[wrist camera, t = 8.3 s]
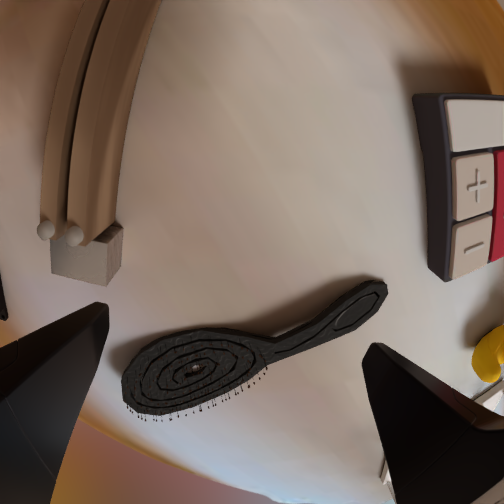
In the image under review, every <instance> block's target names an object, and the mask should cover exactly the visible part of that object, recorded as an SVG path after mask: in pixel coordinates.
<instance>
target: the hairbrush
mask: <svg viewBox="0 0 504 504" xmlns="http://www.w3.org/2000/svg"><path fill="white" fill-rule="evenodd" d="M372 281H374V280H372ZM372 281H365V282H363V283H362V284H360V285H359V286H357V287H355V288H354V289H352V290H351V291H349V292H348V293H346V294H344V295H343V296H341V297H340V298H339V299H338V300H337V301H335V302H334V303H333V304H332V305H330V306H329V307H328V308H327V309H325V310H324V311H323V312H322V313H320V314H319V315H318V316H317V317H315V318H314V319H313V320H311V321H309V322H306V323H304V324H302V325H300V326H298V327H296V328H294V329H292V330H290V331H288V332H286V333H284V334H282V335H279V336H277V337H270V336H264V335H258V334H252V333H247V332H243V331H238V330H234V329H229V330H223V329H228V328H223V329H216V328H201V329H194V330H186V331H181V332H177V333H173V334H170V335H168V336H165V337H161V338H159V339H157V340H155V341H153V342H151V343H150V344H148V345H147V346H145V347H143V348H142V349H141V350H140V351H139V353H138V354H137V355H136V356H135V357H134V358H133V359H132V361H131V362H130V364H129V366H128V367H127V368H126V369H125V371H124V373H123V376H122V380H121V384H122V395H123V401H124V402H125V403H126V404H127V409H128V405H129V406H130V407H131V408H132V409H134V410H135V411H136V412H137V413H142V414H150V415H153V417H154V415H158V416H161V415H165V414H169V413H170V414H171V413H173V412H178V411H181V410H184V409H188V408H192V407H194V406H197V405H199V404H202V403H204V402H206V401H209V400H211V399H214V398H216V397H218V396H220V395H223V394H225V393H227V392H229V391H231V390H233V389H234V388H236V387H238V386H239V385H241V384H243V383H245V382H246V381H248V380H250V379H251V378H253V376H255V375H256V374H257V373H258V372H259V371H261V370H262V369H263V368H264V367H266V366H267V365H269V364H272V363H274V362H277V361H279V360H282V359H284V358H287V357H290V356H292V355H295V354H298V353H300V352H303V351H306V350H308V349H311V348H313V347H316V346H318V345H321V344H323V343H326V342H328V341H330V340H333V339H335V338H338V337H340V336H343V335H345V334H347V333H350V332H352V331H354V330H356V329H357V328H358V327H360V326H361V325H362V324H363V323H365V322H366V321H367V320H368V319H369V318H371V317H372V316H373V315H374V314H375V313H376V312H378V310H379V308H380V307H381V305H382V303H383V302H384V300H385V298H386V296H387V295H388V289H387V284H385V283H384V282H382V281H379V282H373V283H370V282H372ZM374 291H376V295H375V294H374V293H373V292H374ZM230 330H233V331H230ZM253 351H254V356H253ZM234 354H235V355H237V356H238V359H237V360H236V357H235V355H234ZM253 359H254V360H253ZM151 360H152V361H151ZM150 362H151V363H150ZM215 362H217V366H216V367H215ZM149 363H150V364H149ZM234 363H235V364H234ZM195 365H199V366H200V365H202V366H203V365H204V367H203V368H202V369H200V370H199V371H197V372H195V373H194V372H193V371H192V373H187V374H185V373H186V372H187V371H189V370H190V369H191V368H192V367H193V366H195ZM232 366H233V367H232ZM214 367H215V368H214ZM200 368H201V367H200ZM231 368H232V369H231ZM161 369H162V370H161ZM176 369H177V370H176ZM197 369H198V367H197ZM230 369H231V370H230ZM174 370H176V371H175V373H174ZM266 370H267V367H266ZM160 371H161V372H160ZM144 372H145V374H144ZM159 373H160V375H159ZM173 373H174V374H173ZM143 374H144V377H143V379H142V384H141V378H142V376H143ZM263 374H264V375H265V373H263ZM158 376H159V379H158ZM259 380H260V377H259ZM253 383H254V385H255V382H253ZM247 384H248V383H247ZM248 388H250V385H249V386H248ZM241 389H242V387H241ZM234 390H235V389H234ZM242 392H243V390H242ZM237 394H239V392H237ZM237 394H236V392H235V395H237ZM228 395H229V394H228ZM221 397H222V396H221ZM229 399H230V397H229ZM214 400H215V399H214ZM225 400H227V399H225ZM222 402H223V400H222ZM207 403H208V402H207ZM212 403H213V401H212ZM215 406H216V403H215ZM213 407H214V405H213ZM200 408H201V405H200V407H199V409H200ZM208 408H209V406H208ZM130 412H131V409H130ZM200 412H202V409H201V410H200ZM132 414H133V411H132ZM142 414H141V417H142ZM170 414H169V415H170ZM193 414H194V411H193ZM186 416H187V414H186ZM161 417H162V416H161ZM138 418H139V416H138ZM178 418H179V415H178ZM141 419H142V418H141ZM153 420H154V419H153ZM171 420H172V419H170V421H171ZM145 421H146V418H145ZM161 421H162V420H161ZM156 422H157V419H156Z"/></svg>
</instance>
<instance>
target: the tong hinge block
mask: <svg viewBox="0 0 504 504" xmlns="http://www.w3.org/2000/svg"><path fill="white" fill-rule="evenodd" d="M122 240H123V228H119V227H114V226H109V227H107V228H106V229H105V230H104V231H103V232H101V233H100V234H99V235H98V236H97V237H96V238H94V239H93V240H92V241H91V242H90V243H89V244H88V245H86V246H85V247H84V246H79V245H77V246H74V247H72V246H70V245H68V244H67V242H66V241H65V235H63V236H62V237H60V238H59V239H58V240H56V241H55V240H51V239H50V253H51V271H52V273H53V274H56V275H60V276H64V277H68V278H72V279H76V280H80V281H84V282H88V283H92V284H97V285H101V286H105V287H107V285H108V284H109V282H110V281H111V279H112V278H113V277H114V275H115V274H116V273H117V271H118V270H119V268H120V267H121V255H122Z"/></svg>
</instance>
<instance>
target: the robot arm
mask: <svg viewBox="0 0 504 504" xmlns="http://www.w3.org/2000/svg"><path fill="white" fill-rule="evenodd" d="M0 319H1V320H4V321H6V320H7V319H8V312H7V308H6V303H5V298H4V293H3V287H2V281H1V275H0ZM108 332H109V307H108V305H107V304H105V303H101V302H94V303H92V304H90V305H88V306H86V307H84V308H81V309H79V310H77V311H75V312H73V313H71V314H69V315H67V316H65V317H63V318H61V319H59V320H56V321H54V322H52V323H50V324H48V325H46V326H44V327H42V328H40V329H38V330H36V331H34V332H32V333H30V334H28V335H26V336H24V337H22V338H20V339H18V341H17V340H15V341H13V342H11V343H9V344H7V345H5V346H3V347H1V348H0V504H50V501H51V498H52V494H53V490H54V487H55V484H56V479H57V476H58V473H59V470H60V467H61V464H62V460H63V457H64V454H65V451H66V448H67V445H68V443H69V440H70V437H71V434H72V431H73V429H74V426H75V423H76V420H77V418H78V415H79V413H80V410H81V408H82V405H83V403H84V400H85V398H86V395H87V393H88V390H89V388H90V385H91V383H92V381H93V378H94V376H95V373H96V371H97V368H98V365H99V361H100V358H101V355H102V351H103V348H104V345H105V342H106V339H107V335H108ZM362 369H363V374H364V378H365V383H366V388H367V393H368V398H369V402H370V405H371V409H372V412H373V415H374V419H375V422H376V426H377V429H378V433H379V436H380V440H381V443H382V447H383V451H384V454H385V458H386V462H387V466H388V470H389V474H390V478H391V482H392V486H393V490H394V494H395V499H396V504H504V416H501V415H498V414H497V413H495V412H493V411H491V410H489V409H487V408H485V407H484V406H482V405H480V404H478V403H476V402H475V401H473V400H471V399H469V398H468V397H466V396H465V395H463V394H461V393H460V392H458V391H457V390H455V389H453V388H451V387H450V386H449V385H447V384H446V383H444V382H442V381H441V380H439V379H438V378H436V377H435V376H433V375H432V374H430V373H428V372H427V371H425V370H424V369H422V368H421V367H419V366H418V365H416V364H414V363H413V362H411V361H410V360H408V359H407V358H405V357H404V356H402V355H401V354H399V353H397V352H396V351H394V350H393V349H391V348H390V347H388V346H387V345H385V344H383V343H376V342H374V343H372V344H371V345H370V347H369V348H368V350H367V352H366V354H365V356H364V358H363V360H362Z"/></svg>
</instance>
